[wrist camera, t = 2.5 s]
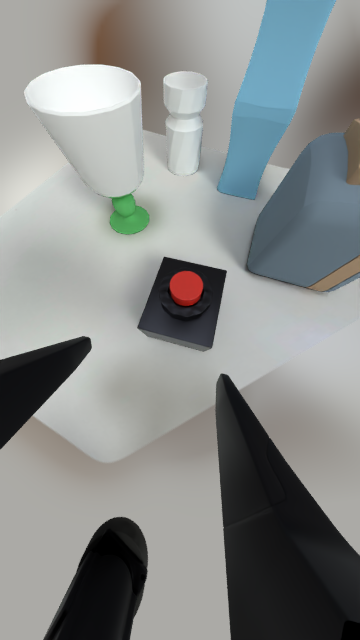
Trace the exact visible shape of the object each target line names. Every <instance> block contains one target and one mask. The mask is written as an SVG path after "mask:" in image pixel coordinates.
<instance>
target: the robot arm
mask: <svg viewBox="0 0 360 640" xmlns="http://www.w3.org/2000/svg"><path fill="white" fill-rule="evenodd" d="M91 348H92V346H91V339H90V338H89V337H85V336H82V337H79V338H75V339H72V340H68V341H65V342H61V343H58V344H54V345H51V346H47V347H44V348H40V349H37V350H33V351H30V352H26V353H23V354H19V355H16V356H12V357H9V358H5V359H2V360H0V449H1V448H2V447H3V446H4V445H5V444H6V443H7V442H8V441H9V440H10V439H11V437H13V436H14V435H15V433H16V432H17V431H18V430H19V429H20V428H21V427H22V426H23V425H24V424H25V423H26V422H27V421H28V419H30V417H31V416H32V415H33V414H34V413H35V412H36V411H37V410H38V409H39V408H40V407H41V406H42V405H43V404H44V403H45V402H46V400H47V399H48V398H49V397H50V396H51V395H52V394H53V393H54V392H55V391H56V390H57V389H58V388H59V387H60V386H61V385H62V383H63V382H64V381H65V380H66V379H67V378H68V377H69V376H70V375H71V374H72V373H73V372H74V371H75V369H76V368H77V367H78V366H79V365H80V363H81V362H82V361H83V359H84V358H85V357H86V356H87V354H88V353H89V352H90V350H91ZM216 427H217V441H218V456H219V470H220V485H221V499H222V513H223V527H224V529H223V530H224V545H225V559H226V574H227V589H228V601H229V617H230V633H231V640H360V555H359V554H358V553H357V552H356V551H355V550H354V549H353V548H352V547H351V546H350V545H349V543H348V542H347V541H346V540H345V539H344V537H343V536H342V535H341V534H340V533H339V531H338V530H337V529H336V527H335V526H334V525H333V524H332V522H331V521H330V520H329V518H328V517H327V516H326V514H325V513H324V512H323V510H322V509H321V508H320V506H319V505H318V504H317V502H316V501H315V500H314V498H313V497H312V496H311V494H310V493H309V492H308V490H307V489H306V488H305V487H304V485H303V484H302V483H301V481H300V480H299V478H298V477H297V476H296V474H295V473H294V472H293V470H292V469H291V467H290V466H289V465H288V463H287V462H286V461H285V459H284V458H283V456H282V455H281V453H280V452H279V450H278V449H277V448H276V446H275V445H274V443H273V442H272V440H271V439H270V438H269V436H268V434H267V433H266V431H265V430H264V428H263V427H262V425H261V424H260V422H259V421H258V419H257V418H256V416H255V415H254V413H253V412H252V410H251V409H250V407H249V406H248V404H247V403H246V401H245V400H244V399H243V397H242V395H241V394H240V392H239V391H238V389H237V388H236V386H235V385H234V383H233V382H232V380H231V379H230V377H229V376H228V375H226V374H220V376H219V379H218V381H217V384H216ZM106 535H108V536H109V537H107V536H106ZM147 572H148V570H147V567H146V566H145V565H144V564H143V563H142V562H141V560H140V559H139V558H138V557H137V556H136V555H135V554H134V553H133V552H132V551H131V550H130V549H129V548H128V547H127V546H126V545H125V543H124V542H123V541H122V540H121V539H120V538H119V537H118V536H117V535H116V534H115V533H114V532H113V531H112V530H111V529H110V528H108V529H106V530H105V532H104V534H103V535H102V537H101V539H100V540H99V542H98V544H97V546H96V547H95V549H91V550H90V551H89V552H88V554H87V556H86V557H85V559H84V561H83V562H82V564H81V566H80V567H79V569H78V571H77V572H76V574H75V576H74V578H73V580H72V582H71V584H70V586H69V588H68V590H67V592H66V594H65V596H64V598H63V600H62V602H61V604H60V606H59V609H58V611H57V613H56V615H55V617H54V619H53V621H52V623H51V625H50V627H49V629H48V631H47V634H46V635H45V637H44V639H43V640H130V635H131V629H132V624H133V618H134V613H135V607H136V602H137V598H138V596H139V594H140V592H141V590H142V588H143V586H144V584H145V582H146V579H147ZM142 574H144V575H142Z"/></svg>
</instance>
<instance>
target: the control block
mask: <svg viewBox="0 0 360 640" xmlns="http://www.w3.org/2000/svg"><path fill="white" fill-rule="evenodd" d="M182 271H190V272H193V273H195V274H197V275H198V276H199V277H200V278H201V280H202V282H203V290H202V293H201V296H200V299H199V300H198V301H197V302H196V303H195V304H193V305H190V306H181V305H179V304H177V303H176V302H174V301H173V299H172V297H171V294H170V281H171V279H172V277H173V276H174V275H175V274H177V273H179V272H182ZM226 273H227V271H226V270H222V269H217V268H213V267H208V266H204V265H199V264H195V263H190V262H186V261H181V260H177V259H172V258H168V257H164V258H163V261H162V263H161V266H160V269H159V271H158V274H157V277H156V279H155V282H154V285H153V287H152V290H151V293H150V295H149V298H148V301H147V303H146V306H145V309H144V311H143V314H142V317H141V319H140V322H139V325H138V327H137V328H138V329H139V330H140V331H142V332H143V333H144V334H145V335H146V336H148V337H152V338H156V339H159V340H163V341H167V342H171V343H174V344H178V345H182V346H185V347H189V348H193V349H196V350H200V351H206V350H208V349H211V348H212V345H213V340H214V335H215V330H216V324H217V319H218V314H219V309H220V304H221V298H222V293H223V288H224V283H225V278H226Z"/></svg>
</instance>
